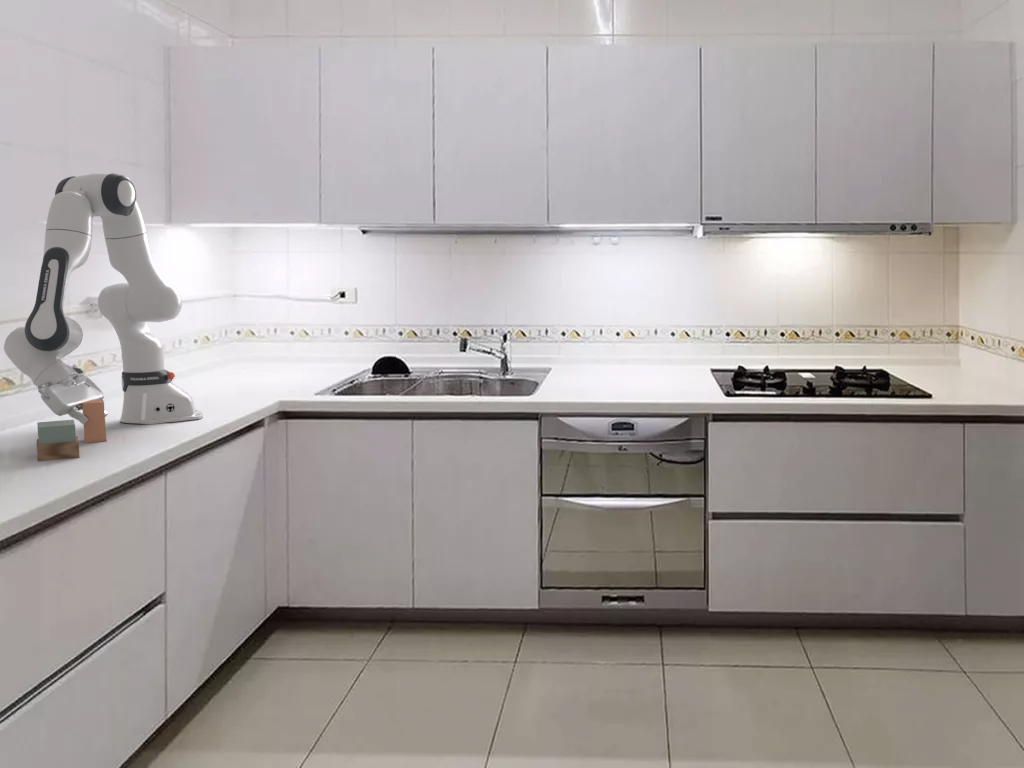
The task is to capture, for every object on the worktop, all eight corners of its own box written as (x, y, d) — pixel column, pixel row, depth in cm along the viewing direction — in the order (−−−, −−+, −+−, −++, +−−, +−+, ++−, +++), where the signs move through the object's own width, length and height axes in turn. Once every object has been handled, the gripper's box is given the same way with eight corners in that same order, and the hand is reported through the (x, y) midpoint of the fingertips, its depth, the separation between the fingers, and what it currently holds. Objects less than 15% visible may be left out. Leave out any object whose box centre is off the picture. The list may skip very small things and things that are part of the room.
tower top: (74, 435, 254) (73, 419, 253) (76, 441, 247) (74, 424, 246) (38, 438, 251) (37, 422, 250) (38, 444, 243) (37, 427, 243)
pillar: (105, 437, 272) (102, 399, 270) (106, 440, 267) (103, 402, 266) (84, 439, 270) (81, 401, 268) (85, 442, 265) (82, 403, 264)
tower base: (79, 451, 255) (77, 435, 254) (79, 458, 247) (78, 441, 246) (38, 455, 251) (37, 438, 251) (37, 462, 243) (36, 445, 243)
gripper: (42, 377, 257) (83, 416, 257) (84, 367, 277) (122, 404, 277) (26, 395, 258) (67, 434, 258) (69, 384, 278) (107, 421, 278)
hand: (96, 419), depth 268 cm, fingers open, 8 cm apart
